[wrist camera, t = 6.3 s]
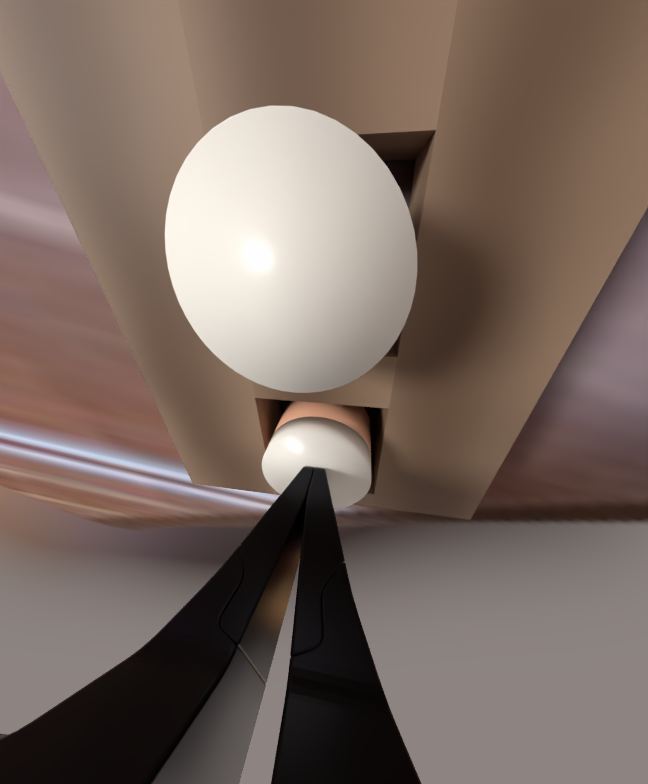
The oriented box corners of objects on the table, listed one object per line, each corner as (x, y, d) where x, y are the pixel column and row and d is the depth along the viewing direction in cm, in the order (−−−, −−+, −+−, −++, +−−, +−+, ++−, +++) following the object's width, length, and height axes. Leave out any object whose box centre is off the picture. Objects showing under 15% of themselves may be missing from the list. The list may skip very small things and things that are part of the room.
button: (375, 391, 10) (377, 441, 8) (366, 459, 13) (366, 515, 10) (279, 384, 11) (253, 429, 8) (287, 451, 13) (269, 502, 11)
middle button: (412, 157, 5) (451, 91, 3) (385, 344, 8) (395, 399, 5) (226, 166, 6) (117, 116, 3) (254, 338, 8) (204, 385, 6)
